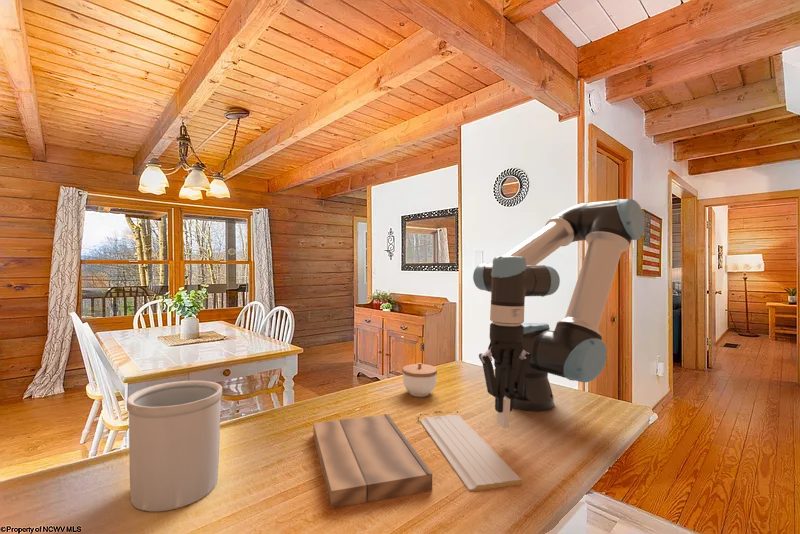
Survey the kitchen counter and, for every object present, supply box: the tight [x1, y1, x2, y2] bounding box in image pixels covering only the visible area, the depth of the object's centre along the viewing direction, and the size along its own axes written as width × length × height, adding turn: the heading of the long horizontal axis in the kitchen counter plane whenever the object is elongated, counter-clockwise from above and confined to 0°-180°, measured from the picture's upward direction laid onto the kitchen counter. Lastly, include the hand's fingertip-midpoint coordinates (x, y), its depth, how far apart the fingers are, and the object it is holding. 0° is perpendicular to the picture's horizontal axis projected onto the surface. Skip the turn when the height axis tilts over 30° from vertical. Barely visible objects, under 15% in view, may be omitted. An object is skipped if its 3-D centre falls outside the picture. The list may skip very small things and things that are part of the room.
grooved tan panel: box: [313, 413, 433, 509], centre depth 83 cm, size 18×28×3 cm, turn 18°
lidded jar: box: [402, 362, 438, 398], centre depth 123 cm, size 11×11×9 cm
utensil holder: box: [126, 380, 223, 512], centre depth 71 cm, size 15×15×18 cm
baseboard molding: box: [417, 410, 523, 492], centre depth 88 cm, size 31×3×12 cm
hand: (503, 425), depth 92 cm, fingers closed
